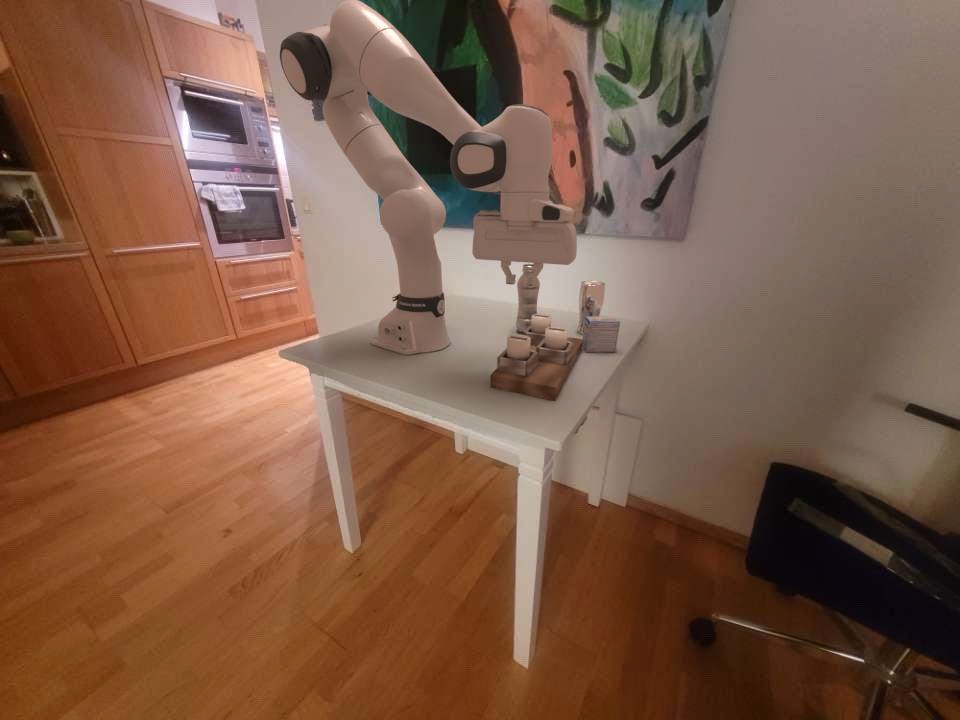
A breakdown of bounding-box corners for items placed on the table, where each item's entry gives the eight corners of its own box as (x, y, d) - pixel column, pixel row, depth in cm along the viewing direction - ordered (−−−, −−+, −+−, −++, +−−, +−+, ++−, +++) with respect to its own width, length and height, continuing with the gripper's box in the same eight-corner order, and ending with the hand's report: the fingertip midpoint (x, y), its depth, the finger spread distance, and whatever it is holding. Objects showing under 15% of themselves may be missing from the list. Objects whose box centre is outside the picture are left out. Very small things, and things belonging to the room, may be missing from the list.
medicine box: (609, 346, 100) (614, 315, 97) (615, 352, 96) (620, 321, 92) (581, 346, 100) (584, 316, 96) (586, 353, 96) (590, 321, 92)
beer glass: (604, 333, 109) (611, 283, 103) (587, 337, 106) (593, 286, 100) (587, 327, 115) (592, 279, 109) (570, 331, 112) (575, 282, 106)
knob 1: (503, 358, 78) (503, 339, 76) (511, 350, 82) (511, 332, 80) (525, 362, 76) (526, 343, 74) (532, 353, 80) (533, 335, 79)
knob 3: (541, 348, 83) (543, 330, 81) (547, 341, 87) (548, 324, 86) (563, 351, 81) (565, 333, 80) (568, 344, 85) (570, 327, 84)
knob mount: (490, 387, 78) (490, 361, 75) (531, 342, 103) (532, 321, 101) (555, 400, 72) (557, 373, 70) (581, 349, 98) (584, 328, 95)
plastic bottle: (538, 335, 108) (543, 266, 100) (516, 335, 108) (518, 266, 100) (536, 328, 114) (540, 263, 106) (514, 328, 114) (516, 263, 106)
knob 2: (528, 332, 93) (529, 317, 91) (534, 327, 97) (535, 312, 95) (547, 335, 91) (548, 319, 89) (552, 329, 95) (553, 314, 94)
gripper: (466, 210, 69) (467, 283, 74) (575, 210, 61) (568, 292, 66) (480, 209, 74) (480, 278, 80) (582, 210, 66) (574, 286, 72)
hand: (521, 284), depth 73 cm, fingers open, 3 cm apart
